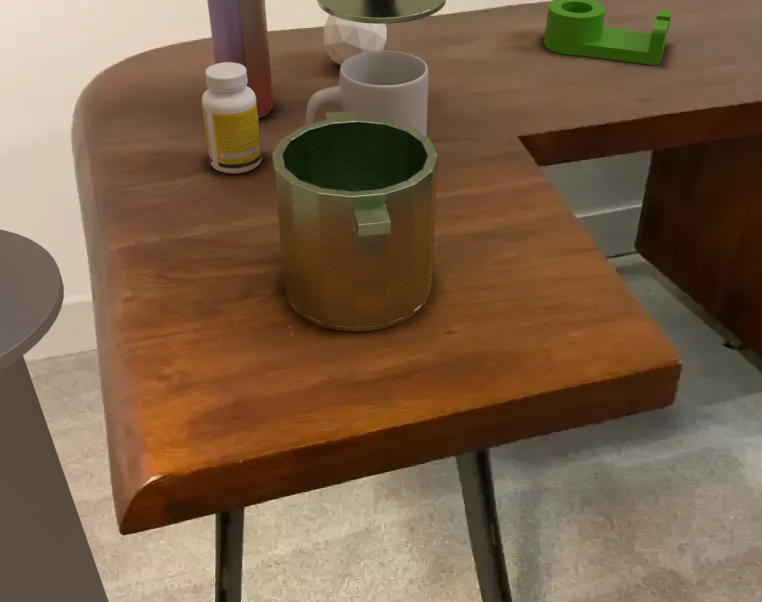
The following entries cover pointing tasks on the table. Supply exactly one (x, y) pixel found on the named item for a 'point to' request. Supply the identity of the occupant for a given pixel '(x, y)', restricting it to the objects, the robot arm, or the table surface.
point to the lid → (381, 10)
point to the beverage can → (244, 44)
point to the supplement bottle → (231, 119)
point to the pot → (356, 221)
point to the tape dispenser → (601, 34)
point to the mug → (379, 89)
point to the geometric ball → (352, 38)
